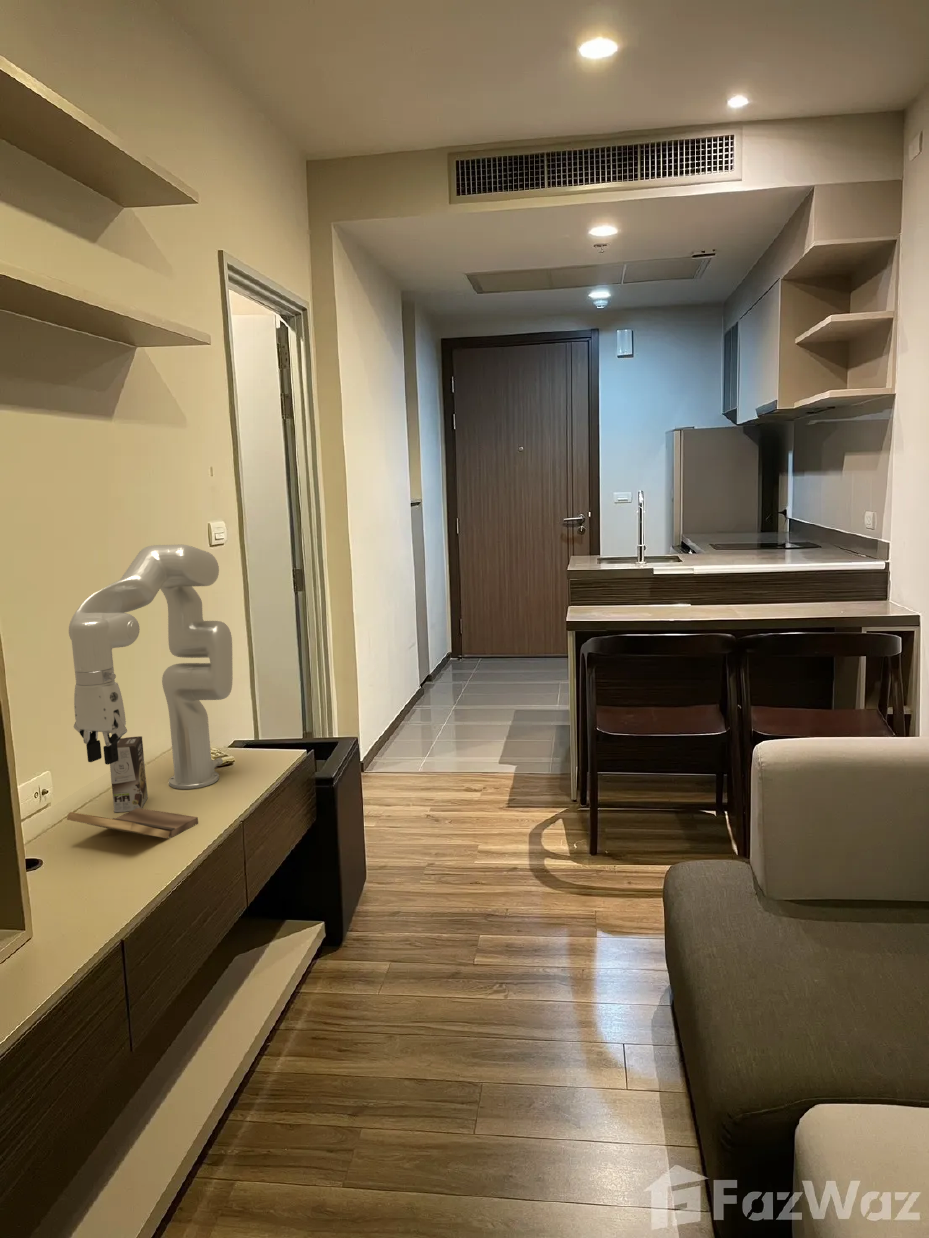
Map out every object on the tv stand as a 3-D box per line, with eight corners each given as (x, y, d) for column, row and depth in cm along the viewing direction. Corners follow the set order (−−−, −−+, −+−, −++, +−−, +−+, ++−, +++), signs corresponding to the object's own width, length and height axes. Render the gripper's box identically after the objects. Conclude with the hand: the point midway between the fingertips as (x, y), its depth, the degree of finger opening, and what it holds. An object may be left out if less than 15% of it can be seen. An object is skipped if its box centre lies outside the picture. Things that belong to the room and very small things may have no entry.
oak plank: (106, 828, 199) (108, 820, 199) (168, 838, 192) (170, 830, 192) (66, 819, 189) (69, 811, 189) (130, 830, 181) (132, 822, 182)
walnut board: (138, 813, 208) (137, 806, 207) (198, 823, 200) (197, 816, 200) (110, 826, 200) (110, 819, 200) (172, 837, 193) (171, 829, 192)
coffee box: (141, 810, 210) (135, 745, 207) (113, 813, 209) (107, 748, 206) (148, 797, 219) (143, 735, 216) (121, 800, 218) (115, 737, 215)
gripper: (138, 675, 183) (146, 760, 186) (79, 671, 190) (88, 752, 193) (111, 683, 176) (119, 770, 179) (51, 678, 183) (60, 763, 186)
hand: (103, 760), depth 186 cm, fingers open, 4 cm apart
